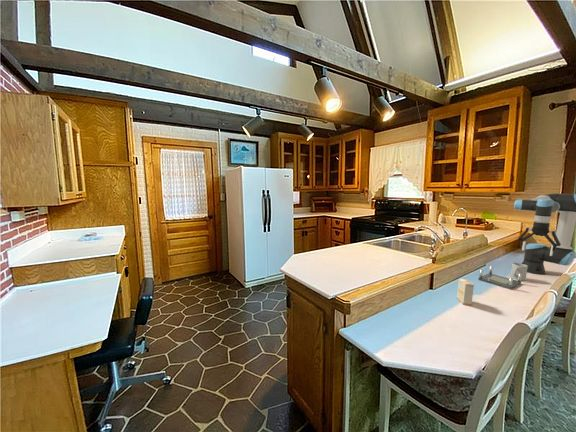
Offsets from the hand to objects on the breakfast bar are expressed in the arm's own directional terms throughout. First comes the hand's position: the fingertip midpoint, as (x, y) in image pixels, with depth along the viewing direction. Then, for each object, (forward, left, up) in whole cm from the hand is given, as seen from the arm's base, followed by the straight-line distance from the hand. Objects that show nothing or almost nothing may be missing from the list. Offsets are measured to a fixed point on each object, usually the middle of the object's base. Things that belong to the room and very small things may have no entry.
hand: (536, 252), depth 165 cm
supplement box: (+63, -14, -26) cm, 69 cm away
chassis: (+6, -15, -25) cm, 30 cm away
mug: (-13, -11, -26) cm, 31 cm away
